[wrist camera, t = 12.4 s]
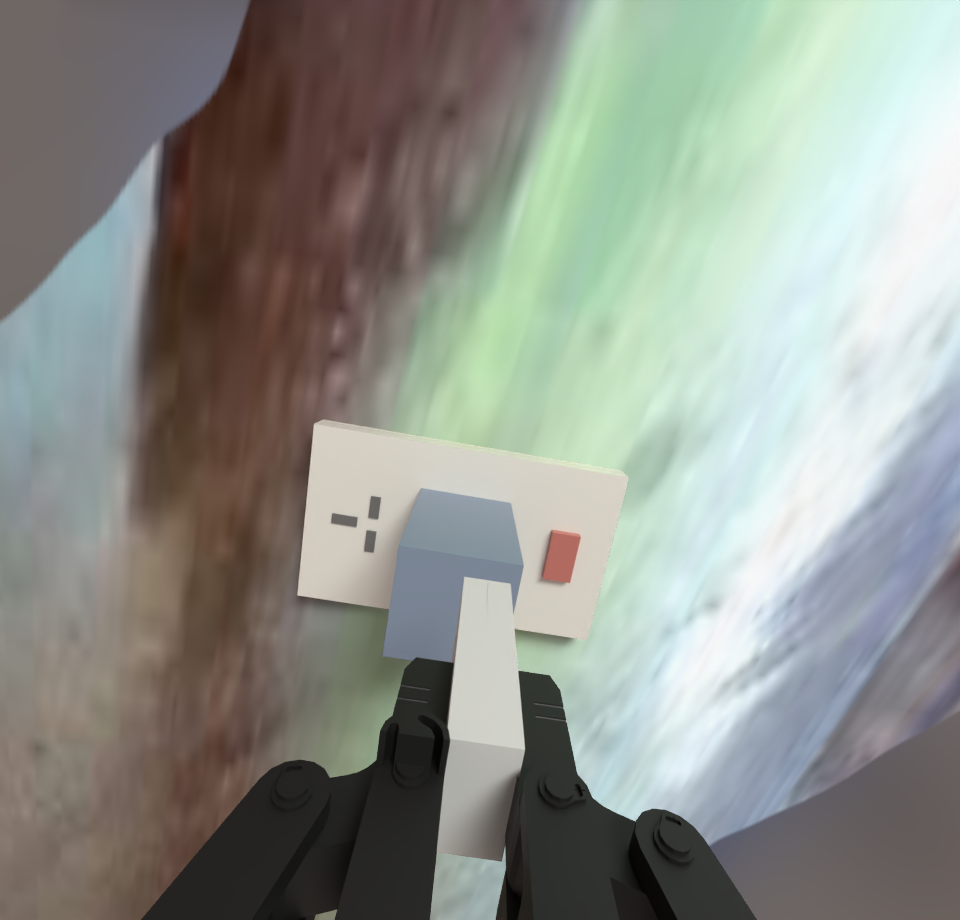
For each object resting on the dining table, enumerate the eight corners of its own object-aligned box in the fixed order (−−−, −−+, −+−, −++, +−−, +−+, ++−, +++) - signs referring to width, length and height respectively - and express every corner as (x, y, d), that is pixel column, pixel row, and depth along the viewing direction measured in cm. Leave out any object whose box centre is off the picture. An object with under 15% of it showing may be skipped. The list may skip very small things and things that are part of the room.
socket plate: (620, 470, 36) (631, 479, 33) (581, 625, 39) (589, 644, 36) (323, 419, 35) (311, 425, 32) (306, 582, 38) (294, 599, 35)
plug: (509, 494, 36) (524, 565, 25) (493, 572, 38) (500, 673, 26) (424, 480, 36) (398, 545, 24) (412, 559, 37) (382, 656, 26)
